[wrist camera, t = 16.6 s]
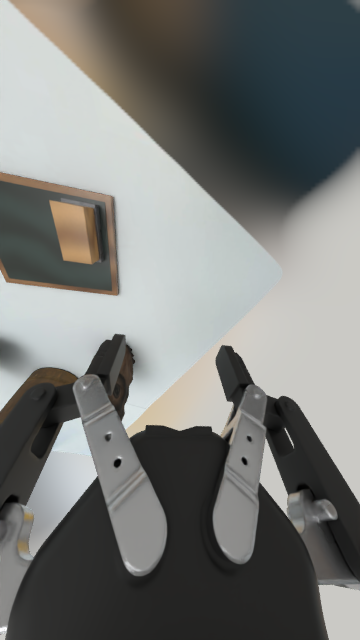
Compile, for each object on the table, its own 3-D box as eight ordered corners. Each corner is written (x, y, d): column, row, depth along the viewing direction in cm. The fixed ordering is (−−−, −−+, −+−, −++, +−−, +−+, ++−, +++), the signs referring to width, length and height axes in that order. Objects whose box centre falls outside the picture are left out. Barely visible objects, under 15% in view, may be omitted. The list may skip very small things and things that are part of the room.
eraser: (65, 198, 25) (45, 194, 20) (98, 204, 25) (85, 202, 21) (77, 256, 29) (62, 263, 25) (104, 260, 30) (94, 267, 26)
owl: (118, 334, 43) (87, 409, 26) (150, 357, 49) (142, 430, 32) (91, 355, 46) (49, 432, 30) (124, 374, 52) (104, 447, 36)
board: (-42, 163, 23) (-53, 161, 21) (113, 196, 26) (110, 195, 25) (11, 280, 32) (5, 282, 31) (118, 293, 36) (117, 296, 35)
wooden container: (74, 397, 58) (31, 479, 40) (28, 385, 52) (-46, 475, 34) (86, 376, 52) (42, 462, 34) (36, 361, 46) (-49, 454, 28)
